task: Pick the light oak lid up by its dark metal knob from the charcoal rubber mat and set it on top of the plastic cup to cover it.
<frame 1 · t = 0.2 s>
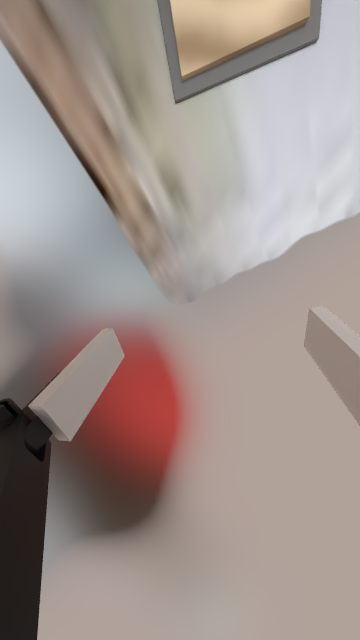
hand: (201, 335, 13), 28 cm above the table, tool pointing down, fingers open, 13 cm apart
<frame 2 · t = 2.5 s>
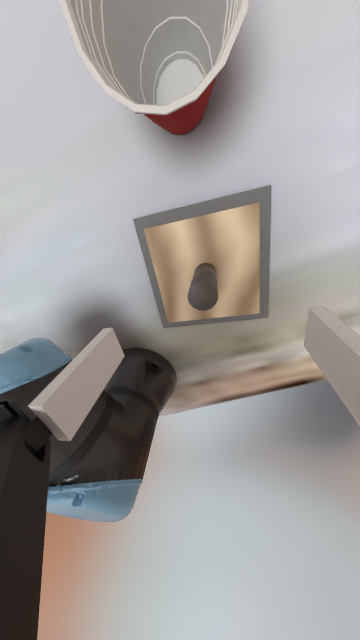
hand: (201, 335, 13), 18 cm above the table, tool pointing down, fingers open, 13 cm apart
mat: (205, 271, 28), on the table
plastic cup: (182, 97, 20), on the table
lid: (205, 272, 28), point 1 cm above the table, touching mat
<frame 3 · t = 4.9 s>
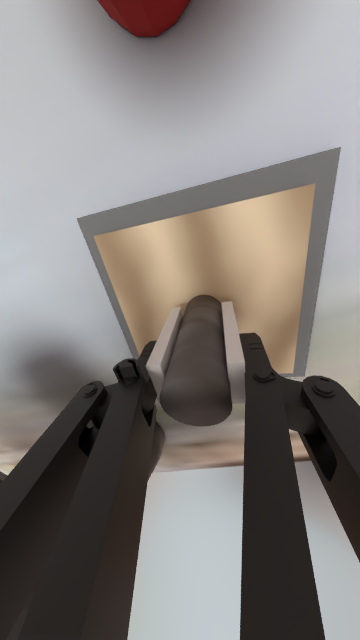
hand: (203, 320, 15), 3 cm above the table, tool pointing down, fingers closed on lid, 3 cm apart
mat: (204, 304, 17), on the table
lid: (204, 307, 17), point 1 cm above the table, touching gripper, mat
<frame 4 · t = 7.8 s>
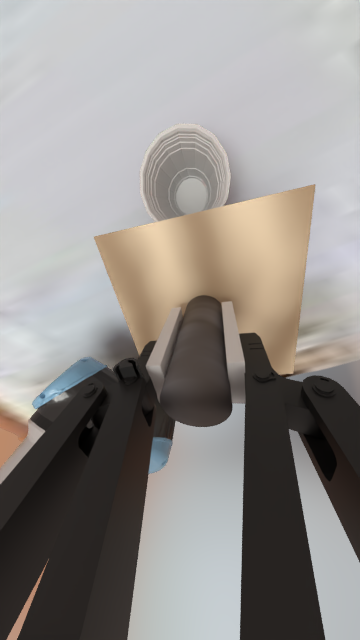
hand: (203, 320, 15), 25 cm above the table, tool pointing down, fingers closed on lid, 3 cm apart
plastic cup: (192, 196, 32), on the table
lid: (204, 307, 17), point 23 cm above the table, touching gripper
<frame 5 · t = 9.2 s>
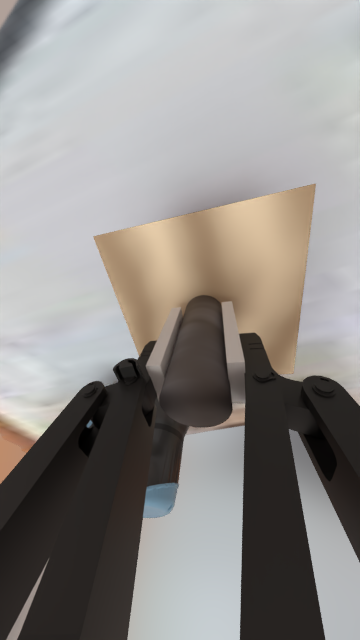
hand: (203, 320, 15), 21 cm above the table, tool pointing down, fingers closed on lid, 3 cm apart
lid: (204, 307, 17), point 19 cm above the table, touching gripper
when the fingers open (16 cm above the table, at t = 10.6 s): lid drops 2 cm, resting on plastic cup.
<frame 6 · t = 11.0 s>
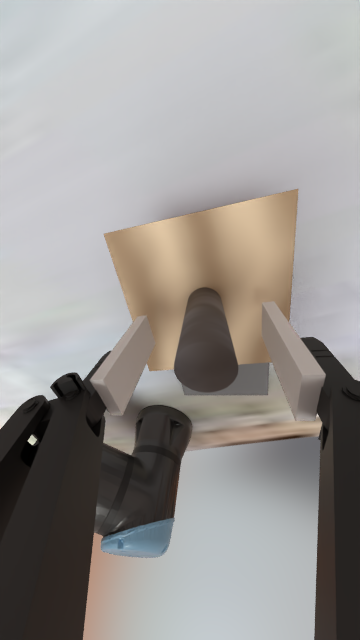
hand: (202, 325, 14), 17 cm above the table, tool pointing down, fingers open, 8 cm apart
mat: (220, 362, 37), on the table
lid: (204, 300, 18), point 12 cm above the table, touching plastic cup
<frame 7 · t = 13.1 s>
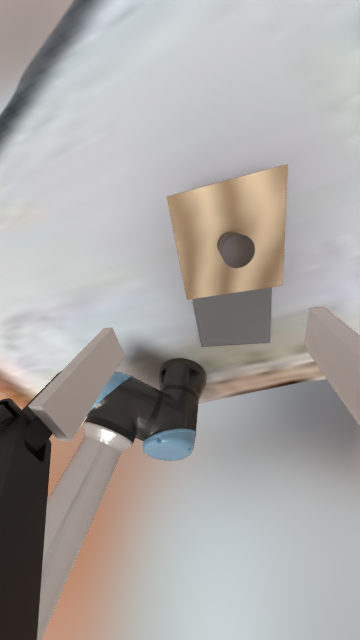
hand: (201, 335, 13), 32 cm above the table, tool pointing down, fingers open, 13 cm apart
mat: (231, 315, 46), on the table
lid: (227, 243, 27), point 12 cm above the table, touching plastic cup
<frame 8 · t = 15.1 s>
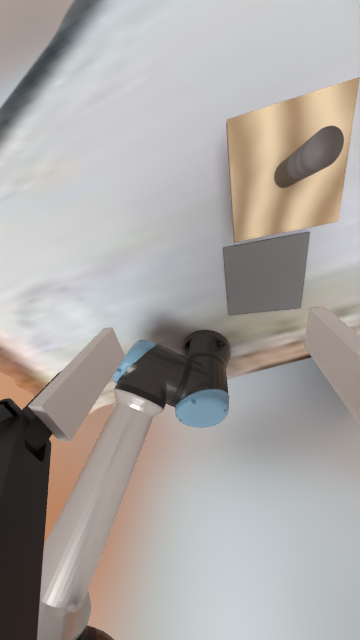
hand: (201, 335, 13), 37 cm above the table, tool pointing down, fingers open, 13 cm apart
mat: (263, 278, 45), on the table
lid: (283, 175, 26), point 12 cm above the table, touching plastic cup
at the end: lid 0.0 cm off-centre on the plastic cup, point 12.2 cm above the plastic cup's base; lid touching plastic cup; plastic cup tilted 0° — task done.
